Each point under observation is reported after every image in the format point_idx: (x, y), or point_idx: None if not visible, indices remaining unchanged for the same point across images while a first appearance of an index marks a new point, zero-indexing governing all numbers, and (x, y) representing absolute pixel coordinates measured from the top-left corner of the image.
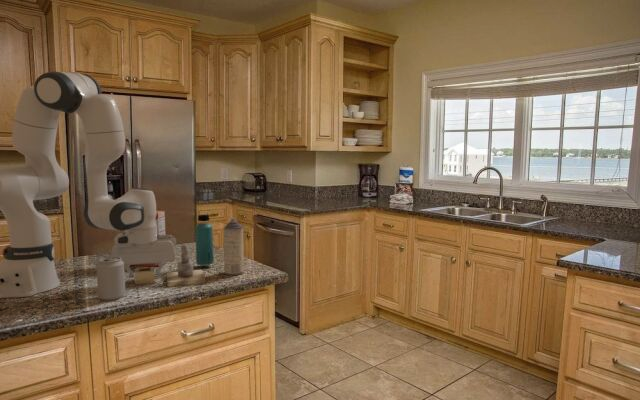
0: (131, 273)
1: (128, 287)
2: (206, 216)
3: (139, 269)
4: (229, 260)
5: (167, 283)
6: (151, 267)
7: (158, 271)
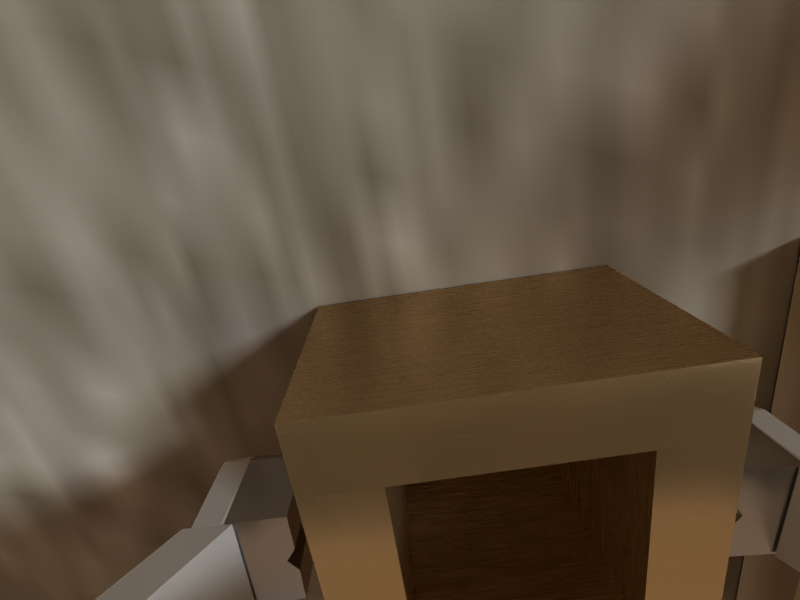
0: (274, 588)
1: (312, 595)
2: None
3: (394, 474)
4: None
5: (750, 568)
6: (685, 429)
7: (771, 538)
